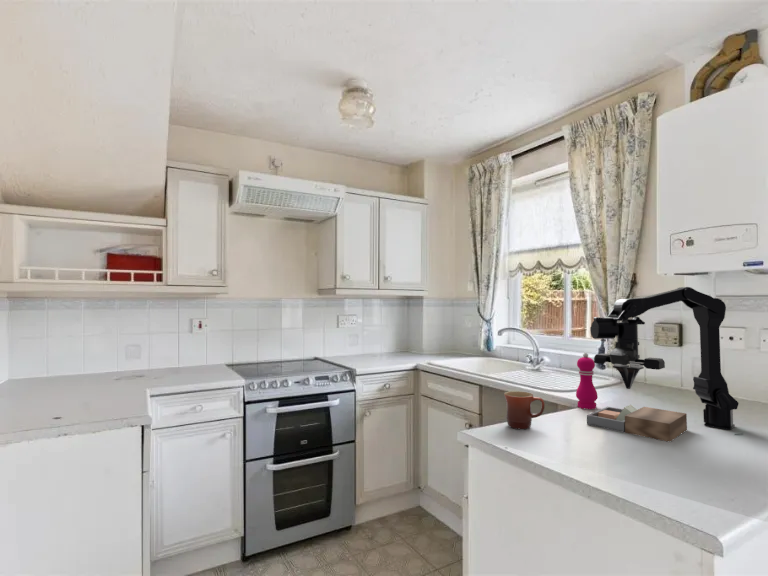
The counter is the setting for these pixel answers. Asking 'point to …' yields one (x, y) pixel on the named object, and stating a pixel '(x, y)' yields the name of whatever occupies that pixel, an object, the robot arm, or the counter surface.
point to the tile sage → (625, 412)
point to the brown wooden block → (656, 423)
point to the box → (606, 420)
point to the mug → (521, 409)
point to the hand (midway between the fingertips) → (628, 388)
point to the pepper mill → (586, 383)
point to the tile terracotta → (608, 414)
